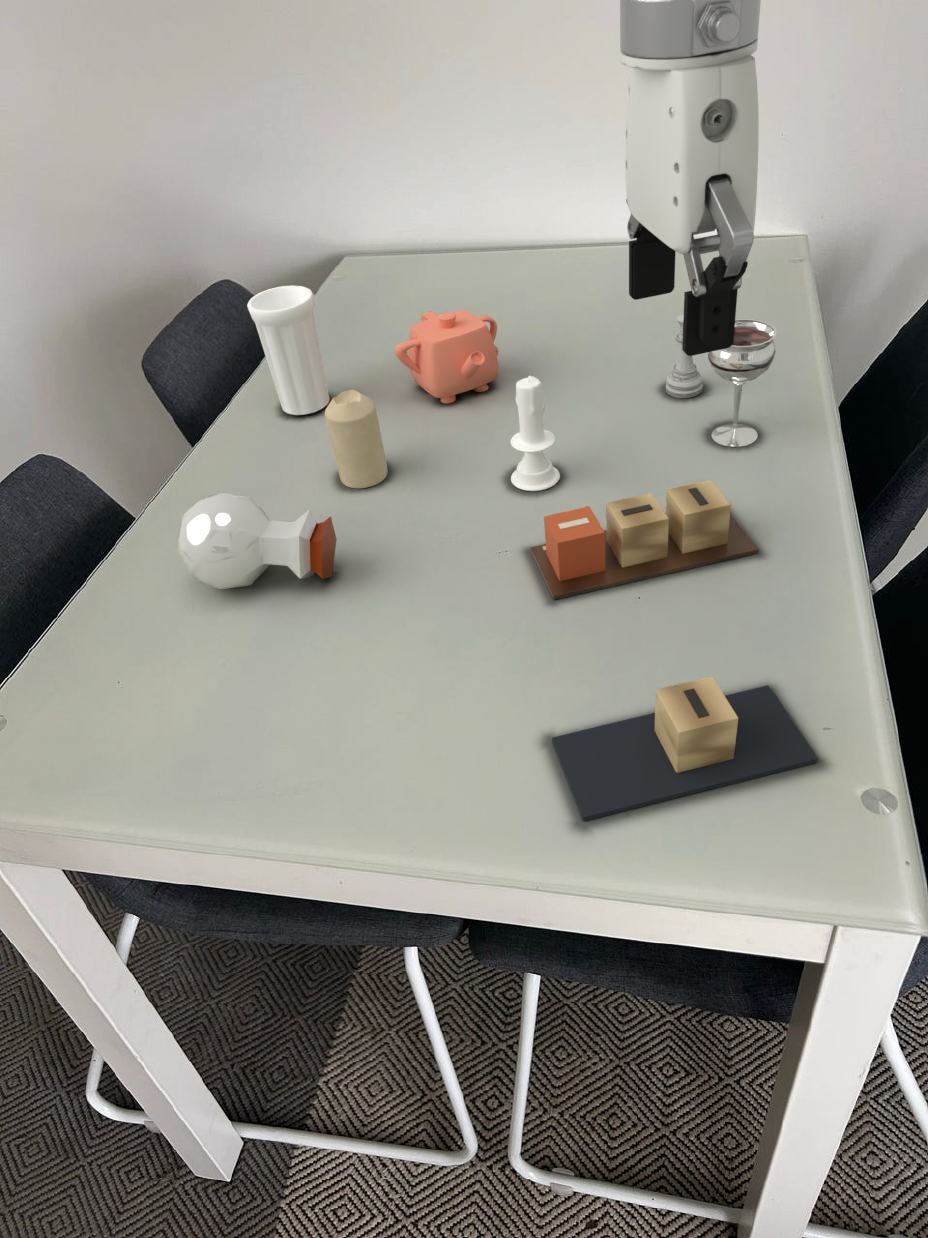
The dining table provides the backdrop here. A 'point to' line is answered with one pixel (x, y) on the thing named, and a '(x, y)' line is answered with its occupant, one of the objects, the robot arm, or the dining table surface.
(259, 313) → the cup
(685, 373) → the chess piece
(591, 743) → the near mat
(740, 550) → the far board
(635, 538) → the far letter i
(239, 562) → the potion bottle
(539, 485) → the candle
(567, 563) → the orange striped cube
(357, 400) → the candle
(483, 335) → the teapot
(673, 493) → the tan wooden block
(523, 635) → the dining table surface
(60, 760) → the dining table surface
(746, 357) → the wineglass
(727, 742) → the tan block
